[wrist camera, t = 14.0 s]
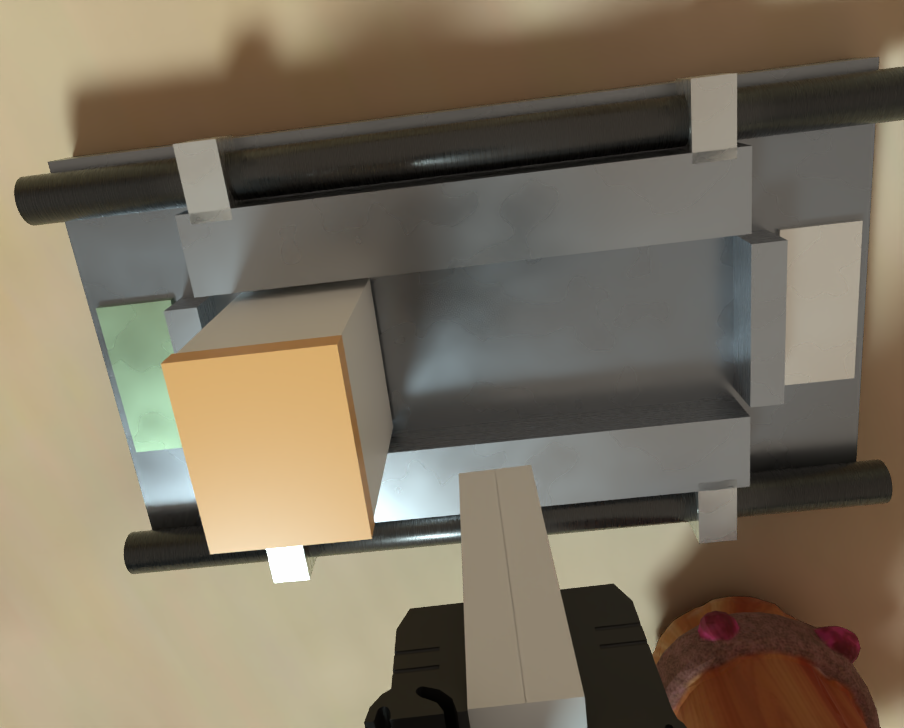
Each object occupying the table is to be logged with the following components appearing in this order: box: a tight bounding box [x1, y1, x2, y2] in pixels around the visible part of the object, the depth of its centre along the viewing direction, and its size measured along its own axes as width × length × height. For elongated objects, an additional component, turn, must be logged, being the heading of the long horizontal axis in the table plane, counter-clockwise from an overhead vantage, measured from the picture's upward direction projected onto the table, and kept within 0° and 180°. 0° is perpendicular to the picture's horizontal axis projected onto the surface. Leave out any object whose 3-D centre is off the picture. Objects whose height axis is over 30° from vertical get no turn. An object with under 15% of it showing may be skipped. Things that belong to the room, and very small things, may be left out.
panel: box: [14, 57, 904, 583], centre depth 25 cm, size 25×14×3 cm, turn 97°
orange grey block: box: [161, 278, 393, 554], centre depth 22 cm, size 4×5×7 cm
